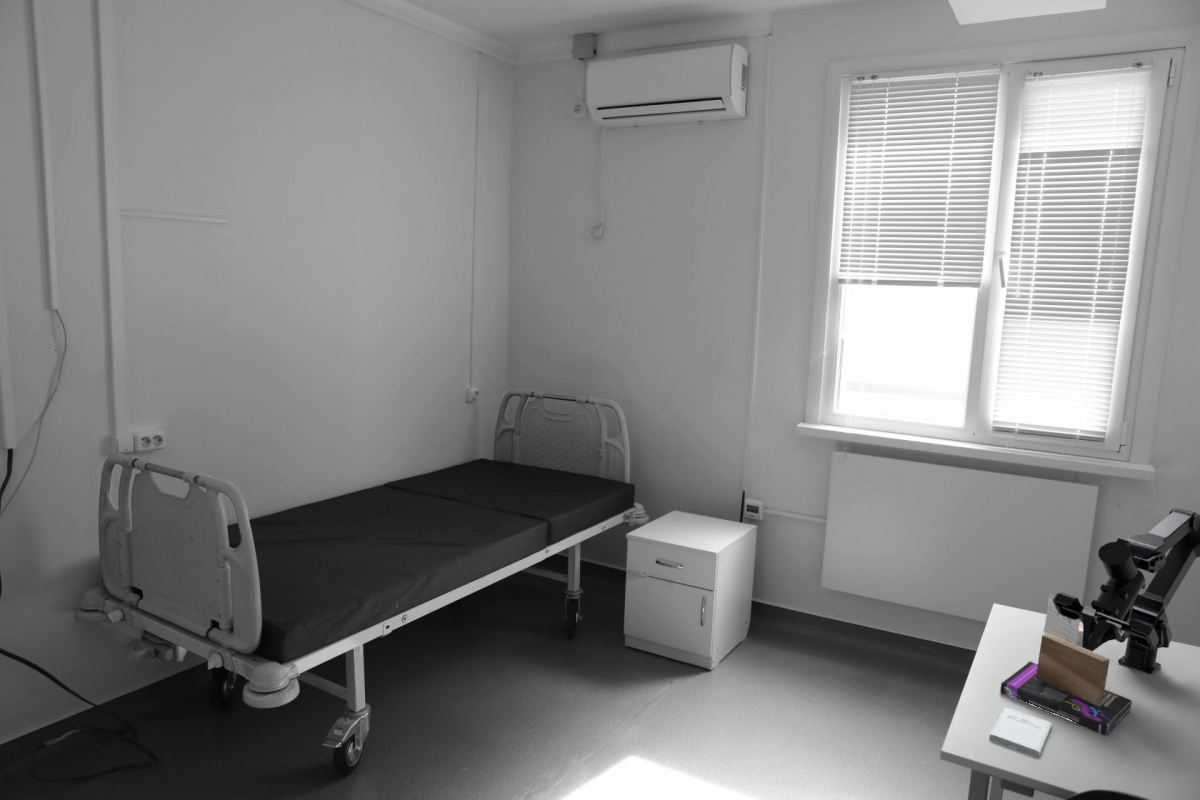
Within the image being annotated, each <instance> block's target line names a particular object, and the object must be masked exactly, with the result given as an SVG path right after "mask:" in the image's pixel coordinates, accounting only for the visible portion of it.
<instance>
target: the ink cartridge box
mask: <svg viewBox="0 0 1200 800" xmlns="http://www.w3.org/2000/svg"><path fill="white" fill-rule="evenodd" d="M1054 597H1055V595H1053V594H1052V593H1050V592H1048V601H1047V602H1048V603H1047V605H1048V606H1047V611H1046V615H1045V620H1044V621H1045V623H1044V628H1043V631H1044V633H1046V634H1048V633H1050V634H1052V635H1055V636H1057V637H1059V638H1062V639H1064V640H1066V641H1069V642H1071V643H1073V644H1076V645H1078V646H1080V647H1082V643H1083V627H1082V626H1080V622H1081V619H1077V620H1072V619H1070V618H1067V617H1064V616H1062V615H1061V614H1059V613H1058V611H1057V609H1056V607H1055V605H1054V603H1053V601H1052V600H1053V599H1054Z"/></svg>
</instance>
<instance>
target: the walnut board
mask: <svg viewBox="0 0 1200 800" xmlns="http://www.w3.org/2000/svg"><path fill="white" fill-rule="evenodd" d="M1040 640H1041V643H1040V648H1039V653H1038V661H1037V664H1038V666H1037V673H1036V677H1038V678H1040V679H1042V680H1044V681H1046V682H1048V683H1050V684H1052V685H1055V686H1057V687H1059V688H1061V689H1063V690H1065V691H1067V692H1069V693H1071V694H1073V695H1075V696H1077V697H1079V698H1082V699H1084V700H1086V701H1088V702H1090V703H1092V704H1094V705H1097V704H1100V703H1102V702H1103V696H1104V690H1106V684H1107V678H1108V672H1109V665H1110V661H1111V658H1108V657H1106V656H1104V655H1102V654H1100V653H1097V652H1094V651H1090V650H1087V649H1085V648H1083V647H1080V646H1078V645H1076V644H1073V643H1071V642H1069V641H1066V640H1064V639H1062V638H1059V637H1057V636H1055V635H1052V634H1050V633H1045V634H1043V635H1041V639H1040Z"/></svg>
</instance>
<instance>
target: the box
mask: <svg viewBox="0 0 1200 800" xmlns="http://www.w3.org/2000/svg"><path fill="white" fill-rule="evenodd" d="M1037 666H1038V663H1035V662H1033V661H1028V662H1027V663H1026V664H1025V665H1024V666H1022V667H1021V668H1019V669H1018V670H1017V671H1016V672H1014V673H1013V674H1011V676H1009V677H1007V679H1005V680H1004V681H1002V682H1001V683H1000V689H999V691H1000V693H1001V694H1003V695H1005V694H1006V696H1007V695H1008V696H1007V697H1010V696H1011V698H1012V697H1014V698H1013V699H1015V698H1017V699H1019V700H1018V701H1020V700H1022V701H1024V702H1027V703H1030V704H1033V705H1035V706H1037V707H1040V708H1042V709H1044V710H1047V711H1049V712H1052V713H1055V714H1058V715H1060V716H1063V717H1065V718H1068V719H1070V720H1072V721H1073V722H1076V723H1077V724H1076V723H1075V724H1076V725H1078V724H1079V725H1078V726H1081V725H1082V726H1081V727H1083V726H1084V727H1083V728H1085V727H1087V728H1086V729H1088V730H1090V729H1091V731H1094V732H1096V733H1098V734H1100V735H1103V736H1105V737H1107V736H1108V735H1109V734H1110V733H1112V732H1113V729H1115V728H1116V727H1117V725H1119V723H1121V721H1123V720H1124V718H1126V717H1127V716H1128V715H1129V713H1130V712H1131V709H1132V706H1133V705H1132V704H1133V700H1132V699H1129V698H1127V697H1124V696H1121V695H1119V694H1117V693H1114V692H1111V691H1109V690H1106V689H1105V690H1104V696H1103V702H1102V703H1100V704H1097V705H1094V704H1092V703H1090V702H1088V701H1086V700H1084V699H1082V698H1079V697H1077V696H1075V695H1073V694H1071V693H1069V692H1067V691H1065V690H1063V689H1061V688H1059V687H1057V686H1055V685H1052V684H1050V683H1048V682H1046V681H1044V680H1042V679H1040V678H1038V677H1036V673H1037ZM1017 699H1016V700H1017ZM1022 701H1021V702H1022ZM1024 702H1023V703H1024ZM1027 703H1026V704H1027ZM1037 707H1036V708H1037ZM1042 709H1041V710H1042ZM1044 710H1043V711H1044ZM1049 712H1048V713H1049ZM1073 722H1072V723H1073Z"/></svg>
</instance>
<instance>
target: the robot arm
mask: <svg viewBox="0 0 1200 800" xmlns="http://www.w3.org/2000/svg"><path fill="white" fill-rule="evenodd" d="M1116 539H1117V540H1116V541H1112V542H1111V541H1110V542H1107V543H1105V544H1104V545H1102V546H1100V547H1099V549H1098V553H1097V555H1098V559H1099V560H1100V562H1101V565H1102V567H1103V569H1104V572H1105V573H1106V575H1107V576H1108V579H1107V580H1106V582H1105V584H1102V583H1101V586H1100V587H1099V589H1100V593H1099V595H1098V596H1097V598H1096V599H1092V601H1091V602H1090V605H1091V607H1089V606H1087V605H1082V604H1081V602H1080V600H1079V598H1078V597H1076V596H1073V595H1070V594H1069V593H1065V592H1062V591H1061V592H1058V593H1056V594H1055V595H1054V596H1055V597H1054V599H1053V600H1052V601H1053V603H1054V605H1055V607H1056V609H1057V611H1058V613H1059V614H1061V615H1062V616H1064V617H1067V618H1070V619H1072V620H1077V619H1080V622H1081V623H1082V628H1083V643H1082V647H1083V648H1085V649H1087V650H1090V651H1092V652H1094V651H1095V650H1097V649H1098V648H1099V647H1101V646H1102V645H1103V644H1105V643H1108V642H1109V641H1117V642H1118V643H1125V641H1126V646H1125V653H1124V655H1123V656H1122V657H1120V658H1119V659H1118V661H1117V663H1119V664H1122V665H1125V666H1128V667H1129V668H1132V669H1136V670H1138V671H1140V672H1143V673H1147V674H1154V672H1156V671H1157V670H1158V669H1159V668H1161V666H1162V664H1161V663H1159V662H1157V657H1158V652H1159V649H1162V648H1166V649H1168V648H1169V647H1170V643H1171V641H1172V638H1173V633H1172V631H1171V628H1170V626H1169V622H1170V621H1169V616H1168V611H1167V607H1168V605H1169V604H1170V602H1171V601H1172V599H1173V597H1174V596H1175V594H1176V593H1177V591H1178V589H1179V587H1180V585H1181V584H1182V582H1183V580H1184V579H1185V577H1186V576H1187V573H1189V571H1190V569H1191V567H1192V566H1193V564H1194V562H1195V560H1196V559H1197V558H1200V513H1197V512H1195V511H1191V510H1187V509H1184V508H1179V507H1177V508H1176V507H1173V508H1172V509H1171V510H1170V511H1169V514H1168V515H1167V516H1166V517H1164V518H1163V520H1161V521H1160V522H1159V523H1158V524H1156V525H1155V526H1154V527H1153V528H1152V529H1150V530H1149V531H1148V532H1147V533H1145V534H1144V533H1143V534H1134V535H1132V536H1130V537H1129V538H1127V539H1124V538H1120V537H1118V538H1116ZM1166 553H1167V554H1166ZM1142 571H1143V572H1146V573H1150V574H1155V575H1154V576H1153V578H1152V580H1151V581H1150V583H1149V584H1148V586H1147V588H1146V578H1145V576H1144V573H1143V572H1142ZM1142 589H1145V590H1144V592H1143V593H1140V591H1142ZM1139 593H1140V594H1139Z"/></svg>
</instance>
